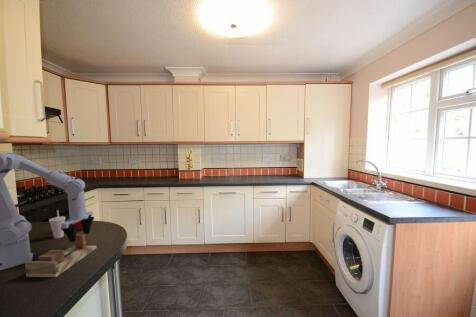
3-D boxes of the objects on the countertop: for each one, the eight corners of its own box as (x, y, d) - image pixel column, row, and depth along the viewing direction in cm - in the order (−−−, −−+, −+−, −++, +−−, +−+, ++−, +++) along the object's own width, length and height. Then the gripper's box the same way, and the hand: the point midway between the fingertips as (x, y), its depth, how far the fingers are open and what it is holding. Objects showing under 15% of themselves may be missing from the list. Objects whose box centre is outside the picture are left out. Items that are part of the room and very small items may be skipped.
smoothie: (59, 239, 102) (57, 212, 101) (46, 239, 102) (44, 212, 101) (70, 233, 108) (68, 208, 107) (58, 234, 109) (56, 208, 107)
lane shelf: (56, 277, 73) (54, 263, 73) (26, 276, 74) (24, 262, 73) (96, 248, 93) (95, 237, 93) (73, 248, 93) (72, 237, 93)
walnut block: (52, 270, 75) (51, 254, 75) (39, 269, 75) (38, 254, 75) (87, 246, 92) (86, 233, 91) (76, 246, 92) (75, 233, 91)
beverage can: (85, 225, 119) (83, 205, 118) (89, 228, 115) (87, 207, 114) (70, 229, 114) (69, 208, 113) (74, 233, 110) (72, 211, 109)
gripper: (72, 212, 82) (75, 245, 83) (98, 202, 97) (100, 230, 98) (55, 213, 82) (58, 245, 83) (83, 202, 97) (85, 230, 98)
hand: (79, 237), depth 91 cm, fingers open, 7 cm apart
